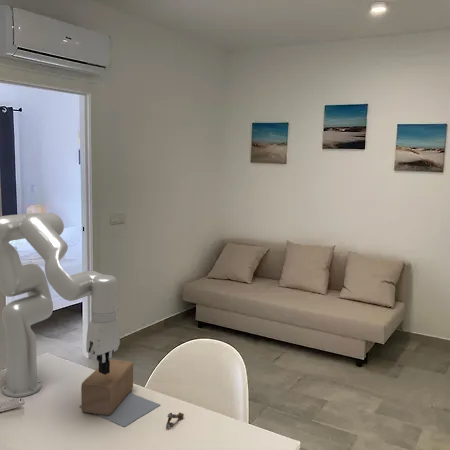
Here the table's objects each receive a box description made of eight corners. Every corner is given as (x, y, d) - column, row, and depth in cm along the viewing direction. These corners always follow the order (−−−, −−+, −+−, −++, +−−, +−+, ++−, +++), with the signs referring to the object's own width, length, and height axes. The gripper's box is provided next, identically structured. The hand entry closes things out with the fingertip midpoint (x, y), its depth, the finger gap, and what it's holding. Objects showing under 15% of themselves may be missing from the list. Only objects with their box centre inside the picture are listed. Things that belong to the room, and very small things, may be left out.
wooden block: (109, 386, 154) (134, 360, 173) (80, 382, 156) (107, 357, 175) (109, 417, 156) (134, 388, 175) (80, 412, 157) (107, 384, 177)
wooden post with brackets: (162, 427, 150) (166, 412, 151) (175, 426, 157) (179, 411, 158) (167, 429, 149) (171, 413, 150) (180, 428, 156) (184, 413, 157)
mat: (79, 406, 162) (79, 406, 161) (116, 387, 175) (116, 387, 175) (124, 427, 151) (124, 426, 151) (160, 405, 164) (160, 404, 164)
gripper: (113, 307, 161) (113, 361, 163) (76, 319, 148) (76, 377, 151) (130, 312, 157) (130, 367, 159) (93, 325, 144) (93, 385, 147)
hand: (104, 372), depth 155 cm, fingers closed
